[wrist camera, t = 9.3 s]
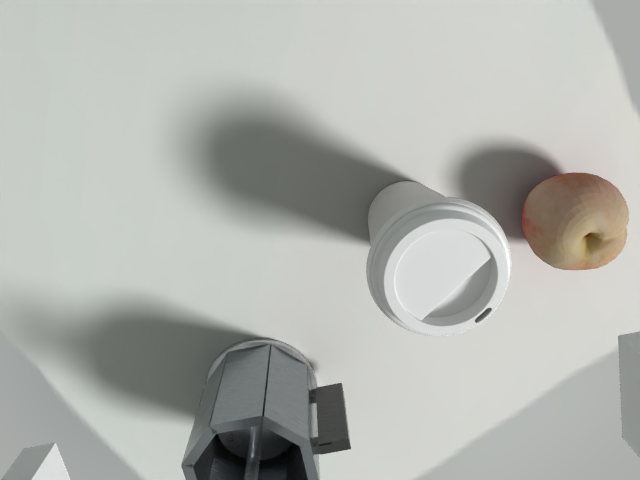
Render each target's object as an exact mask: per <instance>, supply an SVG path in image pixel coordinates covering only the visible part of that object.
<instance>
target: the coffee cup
mask: <svg viewBox="0 0 640 480" xmlns="http://www.w3.org/2000/svg"><path fill="white" fill-rule="evenodd" d="M368 227H369V236H370V245H371V248H370V251H369V254H368V259H367V268H366V273H367V282H368V286H369V290H370V293H371V295H372V297H373V299H374V301H375V303H376V304H377V306H378V307H379V308H380V310H381V311H382V312H383V313H384V314H385V315H386V316H387V317H388V318H389V319H391V320H392V321H393V322H395V323H396V324H397V325H399V326H401V327H403V328H405V329H407V330H409V331H412V332H415V333H419V334H424V335H431V336H450V335H456V334H460V333H463V332H466V331H468V330H470V329H472V328H474V327H476V326H478V325H479V324H481V323H482V322H484V321H485V320H486V319H487V318H488V317H489V316H490V315H491V314H492V313H493V312H494V311H495V310H496V308H497V307H498V305H499V304H500V302H501V300H502V299H503V296H504V294H505V291H506V289H507V286H508V283H509V279H510V274H511V253H510V248H509V244H508V241H507V238H506V235H505V233H504V231H503V229H502V228H501V226H500V225H499V223H498V222H497V221H496V220H495V219H494V217H493V216H492V215H490V214H489V213H488V212H487V211H486V210H484V209H483V208H481V207H480V206H478V205H476V204H474V203H471V202H469V201H466V200H463V199H458V198H452V197H445V196H443V195H441V194H439V193H437V192H435V191H433V190H432V189H430V188H428V187H426V186H424V185H422V184H420V183H416V182H411V181H402V182H397V183H393V184H391V185H389V186H387V187H385V188H384V189H383V190H381V191H380V192H379V193H378V194H377V195H376V197H375V198H374V200H373V201H372V203H371V205H370V208H369V212H368Z"/></svg>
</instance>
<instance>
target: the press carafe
mask: <svg viewBox="0 0 640 480" xmlns="http://www.w3.org/2000/svg"><path fill="white" fill-rule="evenodd" d="M316 404H317V407H316ZM260 425H262V426H263V427H265V428H267V429H269V430H271V431H273V432H274V433H276V434H278V435H280V436H282V437H284V438H285V439H287V440H289V441H291V442H293V443H292V445H291V446H290V447H289V448H288V449H287V450H286V451H284V452H283V453H281V454H280V455H278V456H276V457H273V458H270V459H265V460H260V461H259V470H258V480H320V475H319V454H326V453H331V452H337V451H342V450H348V449H351V446H350V438H349V430H348V422H347V415H346V407H345V399H344V392H343V387H342V383H338V384H333V385H328V386H323V387H317V380H316V376H315V373H314V370H313V368H312V366H311V364H310V363H309V361H308V360H307V359H306V358H305V357H304V355H302V354H301V353H300V352H299V351H298V350H296V349H295V348H293V347H292V346H290V345H288V344H286V343H283V342H280V341H277V340H273V339H264V338H260V339H249V340H245V341H242V342H239V343H237V344H234V345H233V346H231V347H229V348H227V349H226V350H225V351H223V352H222V353H221V354H220V355H219V356H218V357H217V359H216V360H215V361H214V363H213V364H212V366H211V368H210V370H209V373H208V376H207V380H206V384H205V388H204V391H203V394H202V398H201V401H200V405H199V408H198V411H197V415H196V418H195V421H194V425H193V428H192V431H191V435H190V438H189V441H188V445H187V448H186V451H185V455H184V458H183V461H182V465H181V466H182V469H183V472H184V475H185V478H186V480H244V476H245V469H246V462H247V459H245V458H242V457H240V456H237V455H235V454H234V453H232V452H231V451H230V450H228V449H227V448H226V447H225V446H224V444H223V443H222V442H221V440H220V438H219V436H218V433H223V432H228V431H234V430H239V429H244V428H249V427H255V426H260ZM317 427H318V430H317Z"/></svg>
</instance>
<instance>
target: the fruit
mask: <svg viewBox="0 0 640 480" xmlns="http://www.w3.org/2000/svg"><path fill="white" fill-rule="evenodd" d="M628 221H629V211H628V207H627V204H626V201H625V199H624V198H623V196H622V194H621V193H620V191H619V190H618V189H617V188H616V187H615V186H614V185H613V184H611V183H610V182H609V181H607V180H605V179H603V178H601V177H599V176H597V175H592V174H587V173H566V174H560V175H556V176H552V177H550V178H548V179H546V180H544V181H542V182H540V183H539V184H538V185H537V186H535V187H534V188H533V190H532V191H531V192H530V193H529V194H528V196H527V198H526V201H525V203H524V206H523V210H522V229H523V232H524V235H525V237H526V239H527V241H528V243H529V245H530V247H531V249H532V250H533V252H534V253H535V254H536V255H537V256H538V257H539V258H540V259H541V260H543V261H544V262H546V263H547V264H549V265H551V266H553V267H555V268H559V269H563V270H587V269H595V268H599V267H601V266H604V265H606V264H608V263H609V262H611V261H612V260H614V259H615V258H616V257H617V256H618V255H619V254H620V253H621V251H622V249H623V247H624V245H625V243H626V238H627V227H626V226H627V224H628Z"/></svg>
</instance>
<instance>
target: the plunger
mask: <svg viewBox="0 0 640 480" xmlns="http://www.w3.org/2000/svg"><path fill="white" fill-rule="evenodd" d="M218 436H219V438H220V440H221V442H222V443H223V444H224V446H225V447H226V448H227V449H228V450H230V451H231V452H232V453H234V454H235V455H237V456H240V457H242V458H245V459H247V462H246V469H245V476H244V480H258V470H259V461H260V460H265V459H270V458H273V457H276V456H278V455H280V454H281V453H283V452H284V451H286V450H287V449H288V448H289V447H290V446H291V445H292V443H293V442H291V441H289V440H287V439H285V438H284V437H282V436H280V435H278V434H276V433H274V432H273V431H271V430H269V429H267V428H265V427H263V426H262V425H260V426H255V427H249V428H244V429H239V430H234V431H228V432H223V433H218Z"/></svg>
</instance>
